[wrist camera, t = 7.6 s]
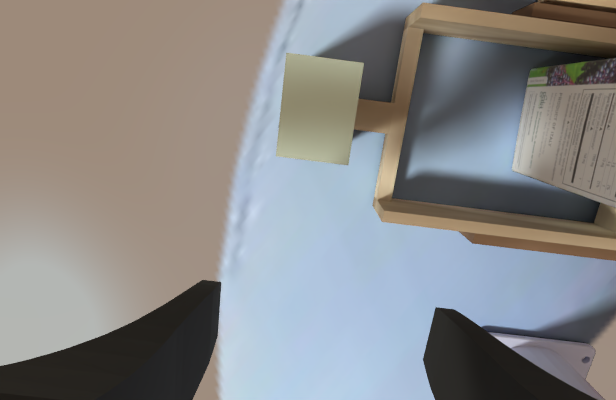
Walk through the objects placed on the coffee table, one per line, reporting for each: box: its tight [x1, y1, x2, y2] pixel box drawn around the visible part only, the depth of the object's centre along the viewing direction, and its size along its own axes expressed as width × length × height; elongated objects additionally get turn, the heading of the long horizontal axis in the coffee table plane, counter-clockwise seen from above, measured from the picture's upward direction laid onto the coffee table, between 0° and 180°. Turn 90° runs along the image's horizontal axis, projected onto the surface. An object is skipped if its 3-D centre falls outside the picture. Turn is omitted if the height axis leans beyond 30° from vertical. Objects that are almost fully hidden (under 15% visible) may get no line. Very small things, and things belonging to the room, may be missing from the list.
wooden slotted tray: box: [276, 3, 616, 250], centre depth 17 cm, size 10×20×6 cm, turn 83°
